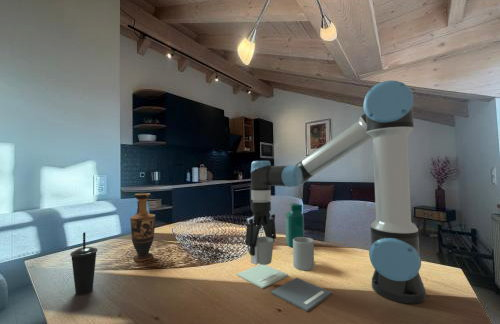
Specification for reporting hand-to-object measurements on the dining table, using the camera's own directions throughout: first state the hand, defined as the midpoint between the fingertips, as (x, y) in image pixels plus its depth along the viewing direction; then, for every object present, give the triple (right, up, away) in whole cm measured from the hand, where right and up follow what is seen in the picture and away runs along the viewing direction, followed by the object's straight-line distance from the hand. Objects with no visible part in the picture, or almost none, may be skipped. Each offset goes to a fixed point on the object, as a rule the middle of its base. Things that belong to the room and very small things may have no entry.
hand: (261, 260), depth 92 cm
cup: (0, 0, -1) cm, 1 cm away
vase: (-54, -7, +19) cm, 58 cm away
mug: (+18, -6, +9) cm, 21 cm away
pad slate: (+12, -5, -14) cm, 19 cm away
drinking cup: (-61, -7, -10) cm, 62 cm away
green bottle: (+20, -6, +35) cm, 41 cm away
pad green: (0, -6, 0) cm, 6 cm away
